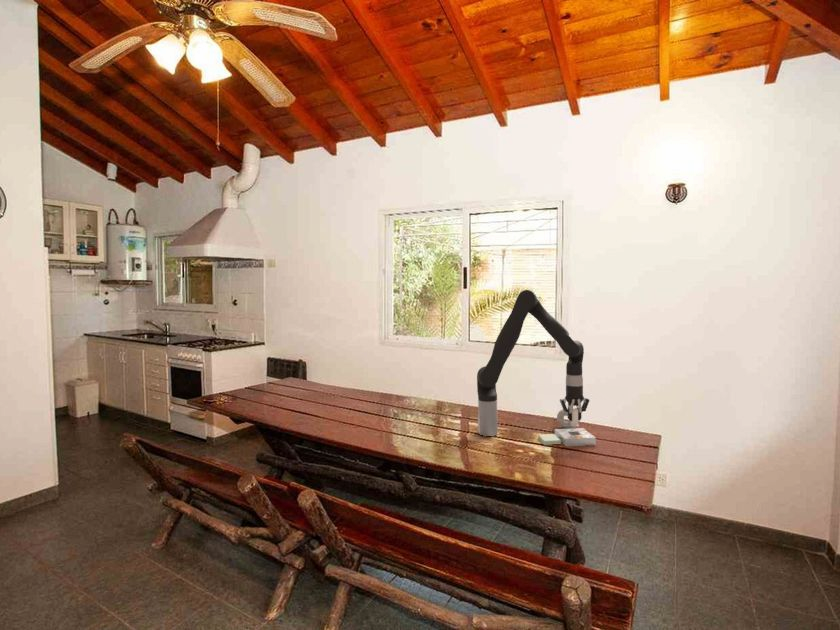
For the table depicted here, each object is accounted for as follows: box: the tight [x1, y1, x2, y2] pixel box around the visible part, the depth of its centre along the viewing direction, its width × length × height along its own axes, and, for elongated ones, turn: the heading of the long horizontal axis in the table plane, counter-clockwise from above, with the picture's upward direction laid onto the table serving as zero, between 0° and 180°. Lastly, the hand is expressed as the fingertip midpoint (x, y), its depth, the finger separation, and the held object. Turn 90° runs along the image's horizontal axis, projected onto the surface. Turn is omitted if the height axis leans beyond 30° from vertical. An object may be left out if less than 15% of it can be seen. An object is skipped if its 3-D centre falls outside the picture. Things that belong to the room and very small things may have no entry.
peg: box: [571, 407, 579, 428], centre depth 211 cm, size 3×3×8 cm
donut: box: [556, 409, 575, 429], centre depth 230 cm, size 10×4×10 cm, turn 51°
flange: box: [554, 427, 597, 447], centre depth 212 cm, size 14×14×4 cm
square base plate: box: [537, 433, 562, 446], centre depth 211 cm, size 8×9×2 cm
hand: (574, 420), depth 211 cm, fingers closed on peg, 3 cm apart
